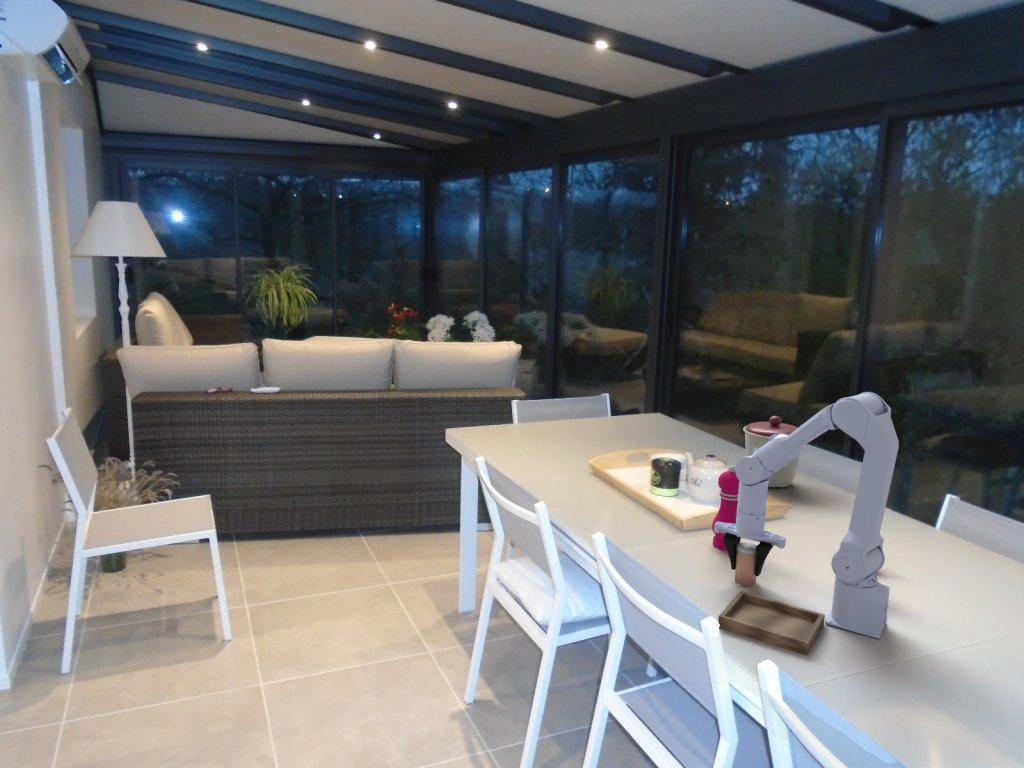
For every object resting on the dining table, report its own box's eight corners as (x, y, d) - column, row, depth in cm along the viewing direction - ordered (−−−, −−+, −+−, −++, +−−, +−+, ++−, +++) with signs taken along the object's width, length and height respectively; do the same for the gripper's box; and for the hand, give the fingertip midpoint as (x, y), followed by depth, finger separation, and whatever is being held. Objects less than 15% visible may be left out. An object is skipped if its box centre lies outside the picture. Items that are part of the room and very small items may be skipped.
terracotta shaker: (759, 581, 158) (762, 545, 157) (752, 588, 154) (755, 552, 153) (737, 575, 161) (740, 540, 159) (730, 582, 157) (733, 547, 156)
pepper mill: (747, 545, 177) (754, 465, 173) (733, 554, 172) (739, 471, 168) (719, 537, 182) (725, 459, 178) (705, 545, 177) (711, 465, 173)
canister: (730, 484, 224) (736, 416, 220) (749, 470, 239) (754, 407, 235) (792, 496, 214) (799, 426, 210) (807, 481, 229) (814, 415, 225)
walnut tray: (823, 625, 140) (824, 614, 139) (806, 654, 129) (807, 643, 129) (740, 601, 149) (740, 590, 148) (717, 626, 138) (718, 616, 138)
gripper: (792, 512, 154) (786, 573, 156) (723, 498, 162) (719, 556, 164) (782, 522, 148) (776, 585, 151) (712, 507, 156) (708, 567, 159)
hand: (746, 571), depth 157 cm, fingers closed on terracotta shaker, 4 cm apart
